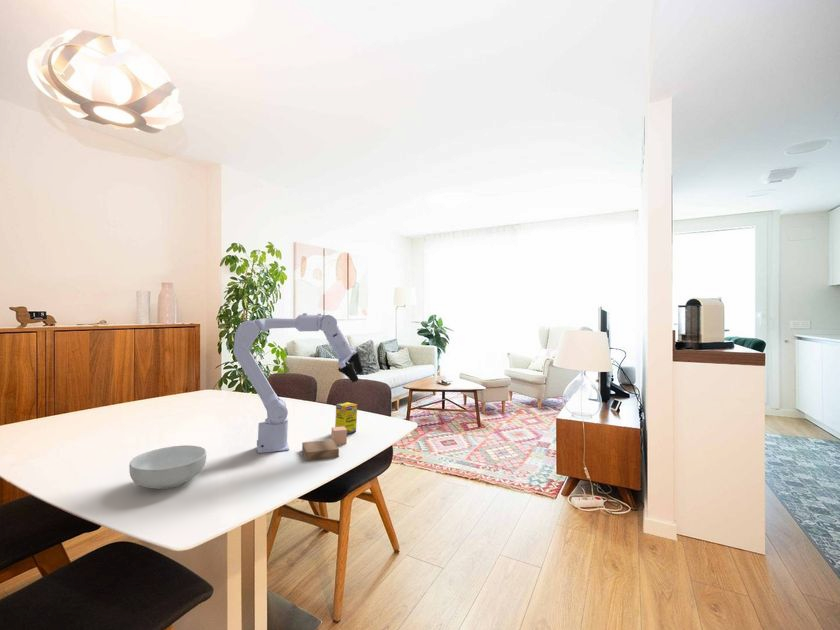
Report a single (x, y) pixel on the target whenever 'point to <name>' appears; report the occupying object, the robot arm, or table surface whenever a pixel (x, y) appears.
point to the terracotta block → (339, 435)
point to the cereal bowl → (167, 466)
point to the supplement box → (346, 416)
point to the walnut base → (320, 449)
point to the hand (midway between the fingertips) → (358, 376)
